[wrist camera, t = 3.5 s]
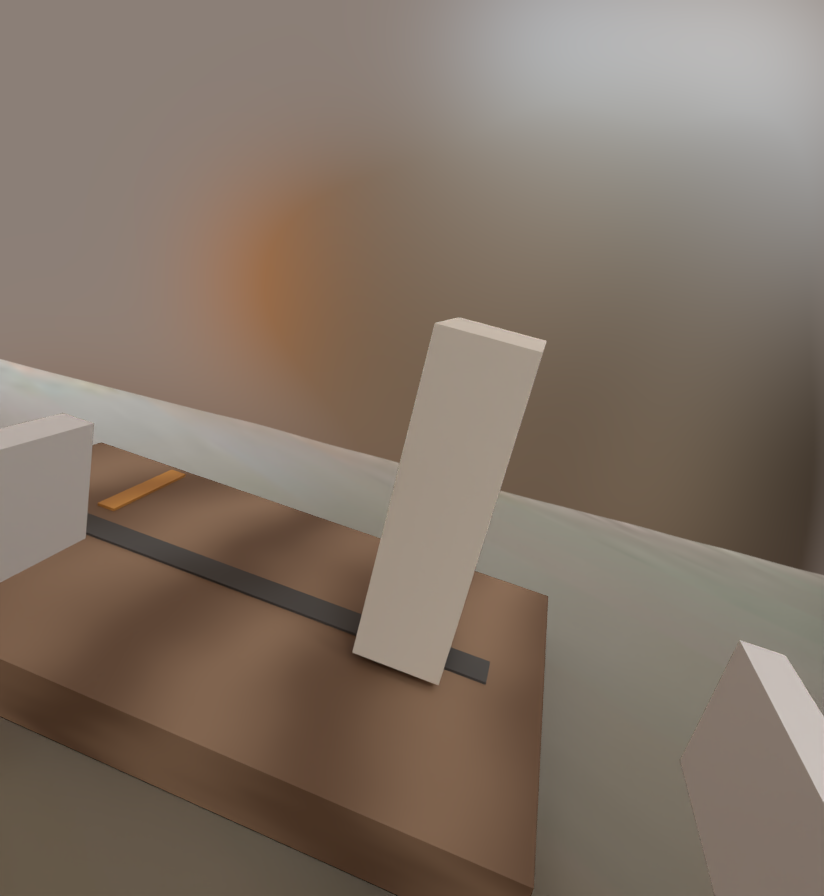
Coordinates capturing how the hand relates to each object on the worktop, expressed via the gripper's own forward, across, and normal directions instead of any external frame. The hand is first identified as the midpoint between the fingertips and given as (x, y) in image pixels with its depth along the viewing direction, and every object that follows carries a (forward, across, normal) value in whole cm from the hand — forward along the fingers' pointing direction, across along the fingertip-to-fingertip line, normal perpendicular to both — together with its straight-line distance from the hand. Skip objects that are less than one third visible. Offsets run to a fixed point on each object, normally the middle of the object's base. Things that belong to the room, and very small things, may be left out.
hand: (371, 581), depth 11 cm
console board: (+8, -7, -9) cm, 14 cm away
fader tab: (+8, 0, -7) cm, 10 cm away
